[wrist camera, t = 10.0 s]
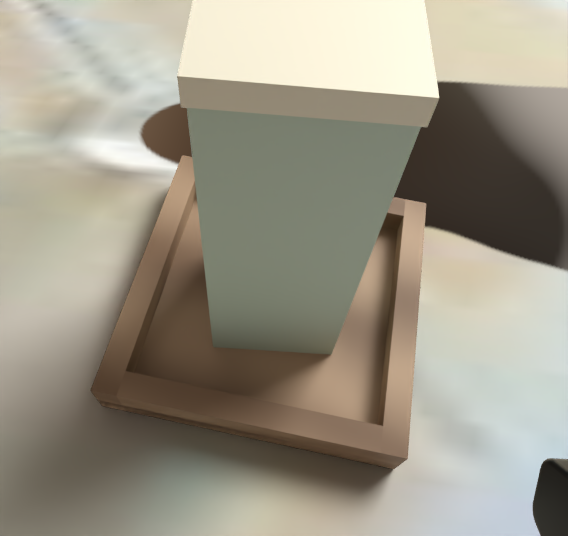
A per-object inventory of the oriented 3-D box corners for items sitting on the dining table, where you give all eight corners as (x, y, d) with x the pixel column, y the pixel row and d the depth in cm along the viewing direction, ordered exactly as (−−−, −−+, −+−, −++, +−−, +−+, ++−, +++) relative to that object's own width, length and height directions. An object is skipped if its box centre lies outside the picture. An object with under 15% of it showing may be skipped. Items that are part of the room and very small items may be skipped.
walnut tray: (394, 469, 22) (407, 458, 20) (101, 405, 22) (90, 390, 20) (414, 227, 28) (426, 203, 26) (185, 181, 28) (182, 155, 26)
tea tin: (333, 356, 23) (439, 97, 11) (210, 349, 23) (177, 76, 11) (332, 253, 26) (416, -49, 13) (222, 245, 25) (206, -69, 13)
